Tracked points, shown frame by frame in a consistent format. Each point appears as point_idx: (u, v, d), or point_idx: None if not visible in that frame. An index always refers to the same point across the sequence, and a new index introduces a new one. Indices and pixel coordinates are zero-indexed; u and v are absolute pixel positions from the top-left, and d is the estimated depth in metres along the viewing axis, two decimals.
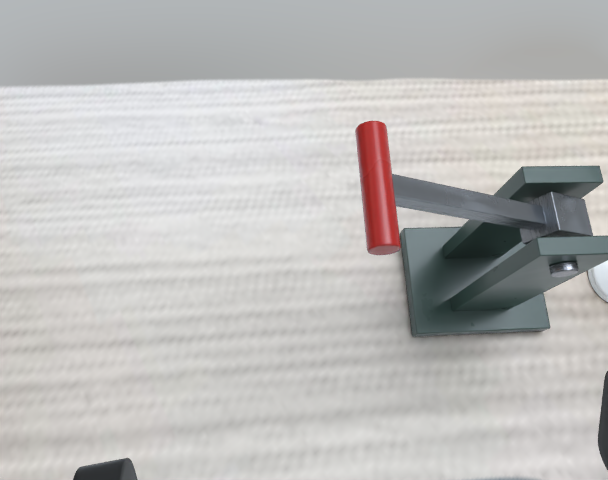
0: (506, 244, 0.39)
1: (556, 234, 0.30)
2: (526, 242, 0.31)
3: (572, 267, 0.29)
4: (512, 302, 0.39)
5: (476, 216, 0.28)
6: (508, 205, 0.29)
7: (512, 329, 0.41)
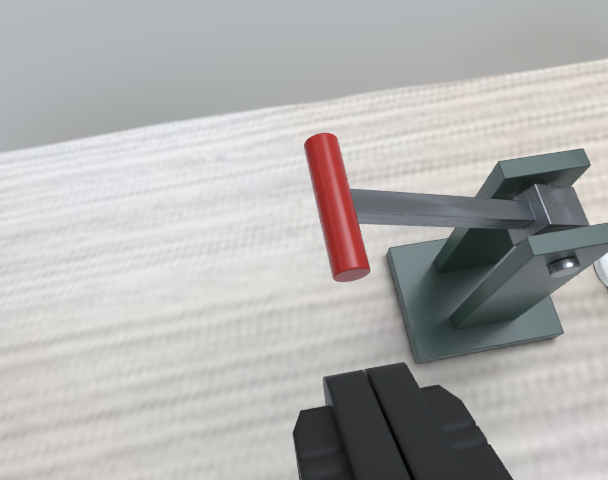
0: (501, 249, 0.36)
1: (548, 230, 0.26)
2: (517, 243, 0.28)
3: (572, 264, 0.26)
4: (517, 311, 0.35)
5: (454, 223, 0.25)
6: (489, 205, 0.26)
7: (522, 340, 0.37)
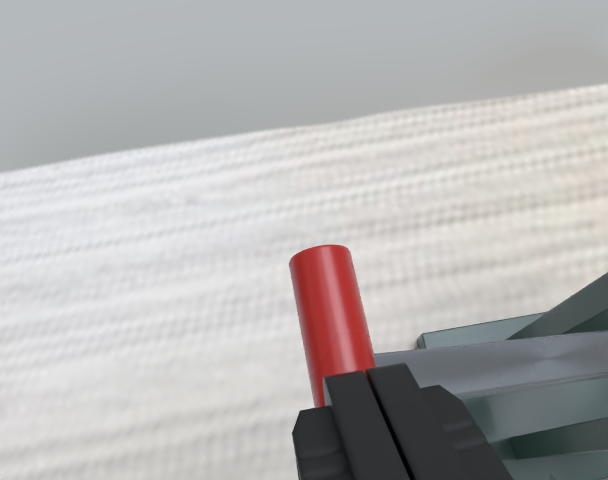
0: None
1: None
2: None
3: None
4: None
5: (563, 382, 0.14)
6: None
7: None
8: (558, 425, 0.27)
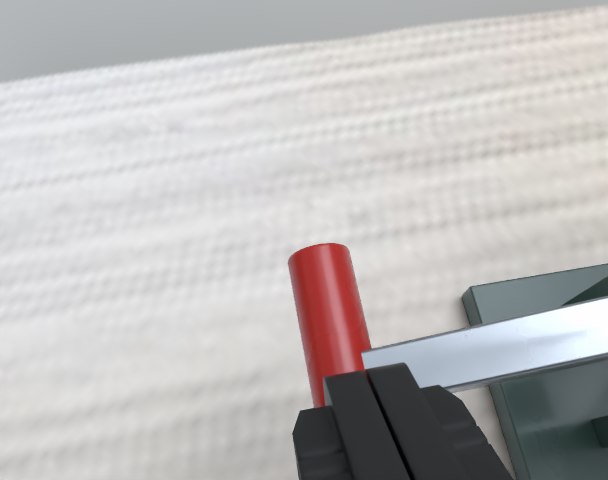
0: None
1: None
2: None
3: None
4: None
5: None
6: None
7: None
8: None
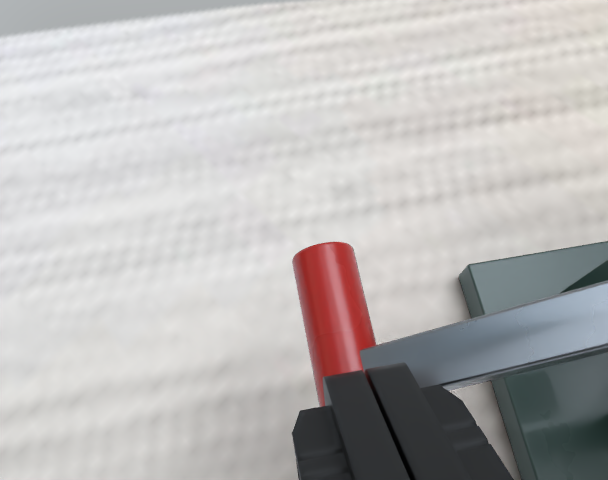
0: None
1: None
2: None
3: None
4: None
5: None
6: None
7: None
8: None
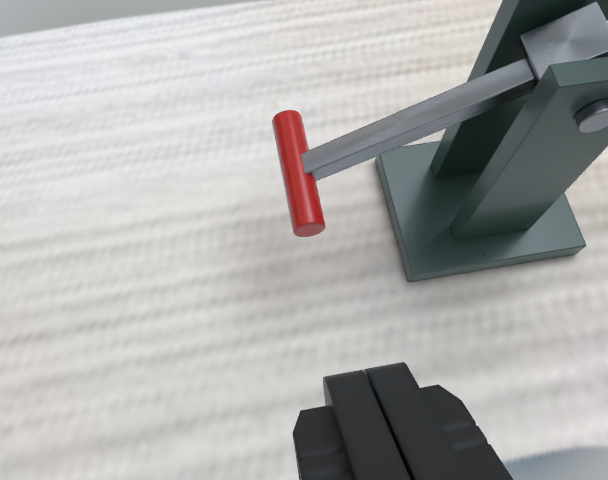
0: None
1: None
2: None
3: None
4: (531, 213, 0.29)
5: (426, 130, 0.24)
6: (462, 93, 0.23)
7: (537, 254, 0.31)
8: None
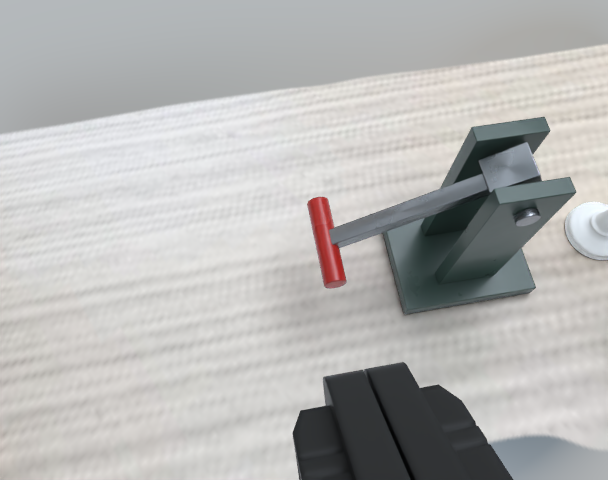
0: None
1: None
2: None
3: (533, 213, 0.31)
4: (493, 266, 0.40)
5: (416, 218, 0.35)
6: (440, 194, 0.34)
7: (499, 294, 0.42)
8: None
